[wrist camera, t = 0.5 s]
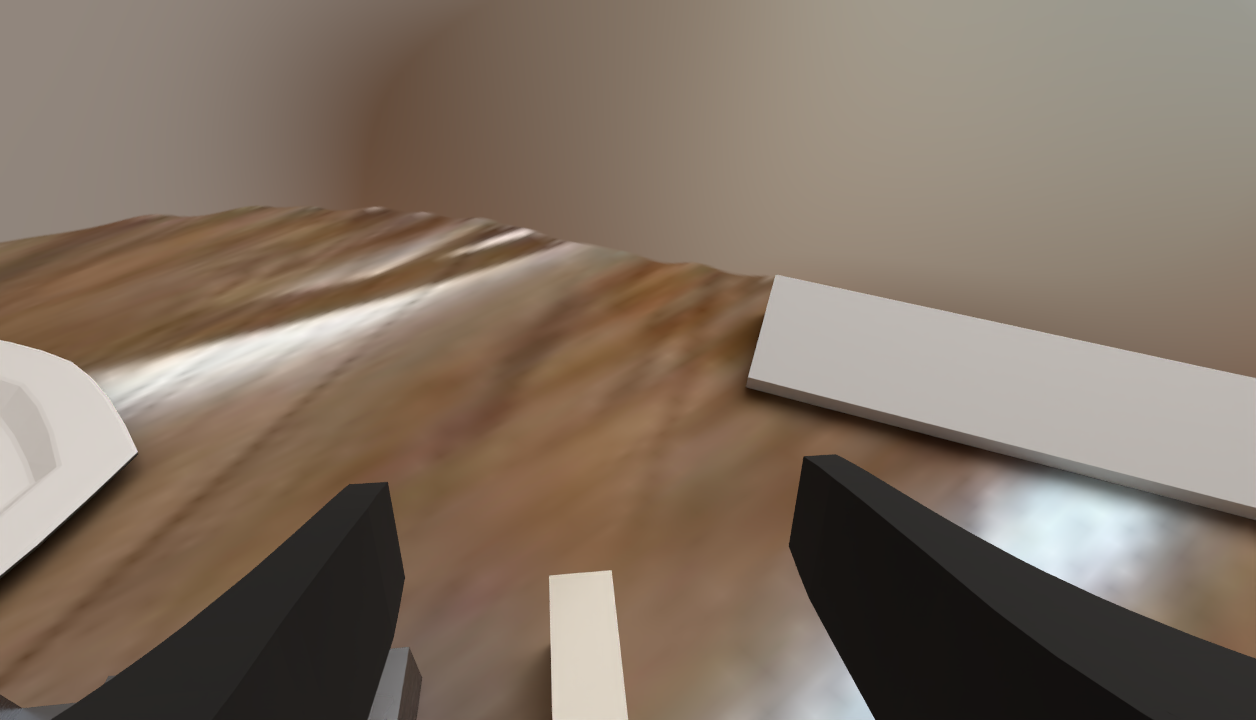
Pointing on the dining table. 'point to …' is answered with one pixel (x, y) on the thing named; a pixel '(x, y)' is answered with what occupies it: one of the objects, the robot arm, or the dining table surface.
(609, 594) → the clay strip
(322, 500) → the dining table surface
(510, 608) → the dining table surface
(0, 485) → the plate
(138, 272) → the dining table surface
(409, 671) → the grey grooved block
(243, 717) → the robot arm
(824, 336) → the decorative molding
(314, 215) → the dining table surface
